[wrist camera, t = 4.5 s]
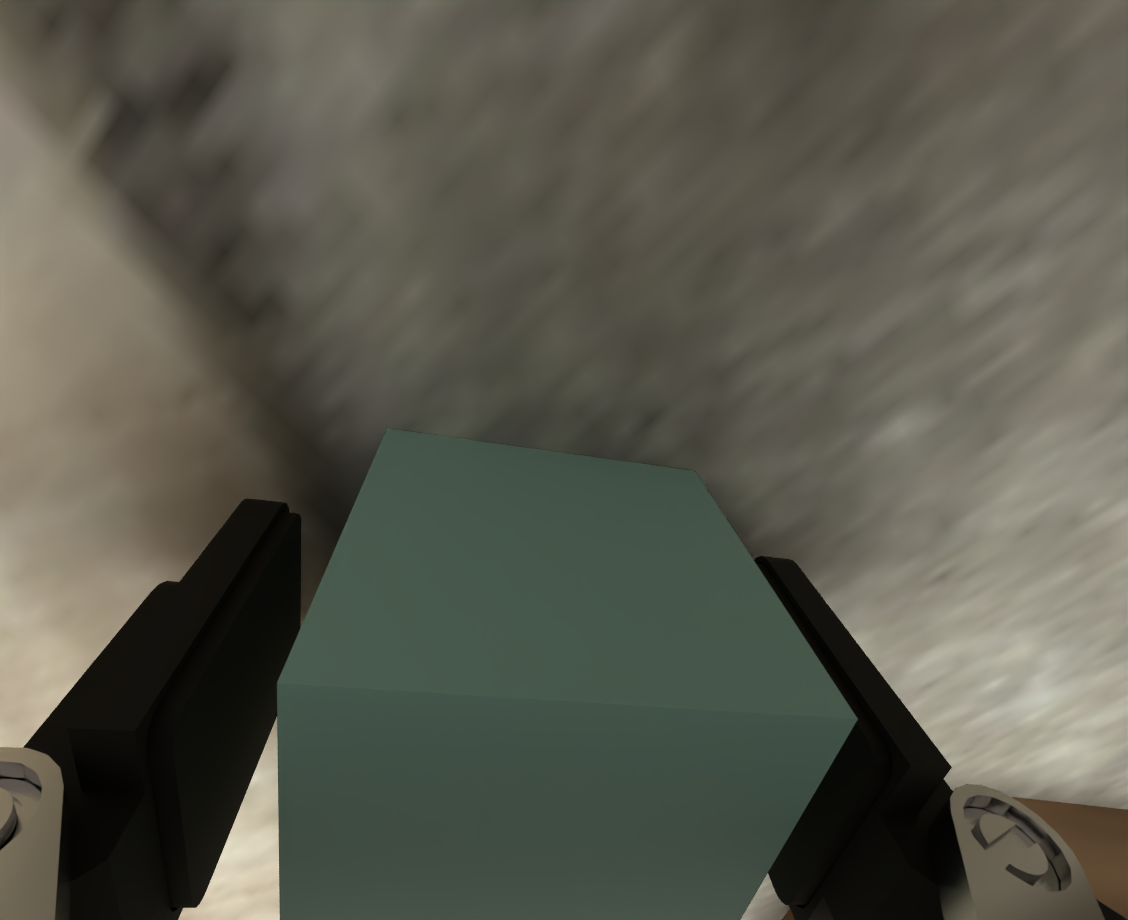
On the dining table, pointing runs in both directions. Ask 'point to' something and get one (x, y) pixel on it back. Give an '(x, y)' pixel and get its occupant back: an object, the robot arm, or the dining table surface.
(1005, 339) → the dining table surface
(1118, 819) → the walnut block
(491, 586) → the teal cube
